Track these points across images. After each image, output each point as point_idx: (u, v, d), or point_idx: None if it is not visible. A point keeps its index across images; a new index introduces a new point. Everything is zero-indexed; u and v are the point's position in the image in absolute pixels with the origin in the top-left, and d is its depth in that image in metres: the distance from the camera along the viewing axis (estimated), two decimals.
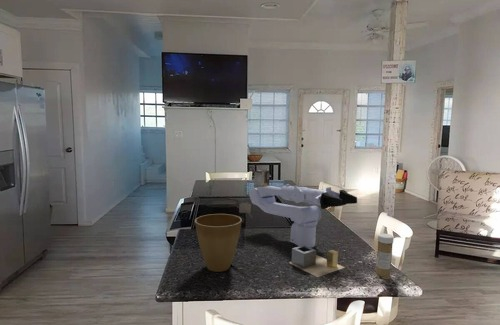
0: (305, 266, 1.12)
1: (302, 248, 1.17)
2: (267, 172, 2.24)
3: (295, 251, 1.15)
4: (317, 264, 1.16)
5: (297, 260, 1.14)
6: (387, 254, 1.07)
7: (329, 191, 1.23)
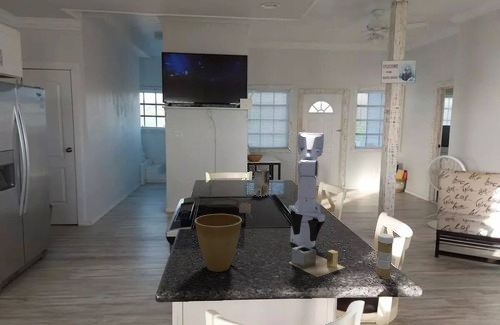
0: (305, 266, 1.12)
1: (302, 248, 1.17)
2: (267, 172, 2.24)
3: (295, 251, 1.15)
4: (317, 264, 1.16)
5: (297, 260, 1.14)
6: (387, 254, 1.07)
7: None
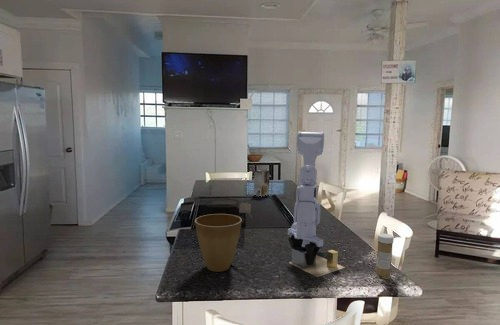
0: (305, 266, 1.12)
1: (302, 248, 1.17)
2: (267, 172, 2.24)
3: (295, 251, 1.15)
4: (317, 264, 1.16)
5: (297, 260, 1.14)
6: (387, 254, 1.07)
7: None
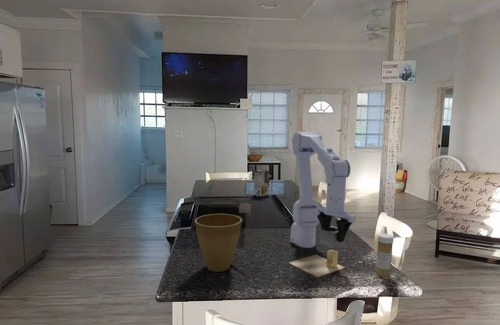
0: (334, 246, 1.10)
1: (330, 229, 1.15)
2: (267, 172, 2.24)
3: (324, 231, 1.12)
4: (317, 264, 1.16)
5: (326, 240, 1.12)
6: (387, 254, 1.07)
7: None
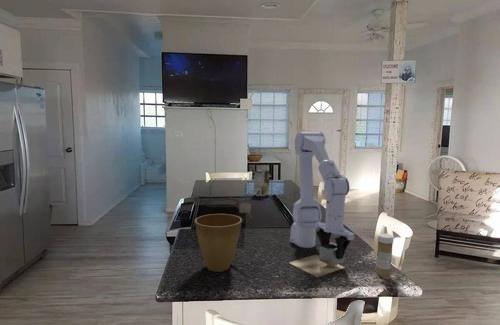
0: (334, 263, 1.11)
1: (330, 245, 1.15)
2: (267, 172, 2.24)
3: (323, 248, 1.13)
4: (317, 264, 1.16)
5: (325, 257, 1.12)
6: (387, 254, 1.07)
7: None
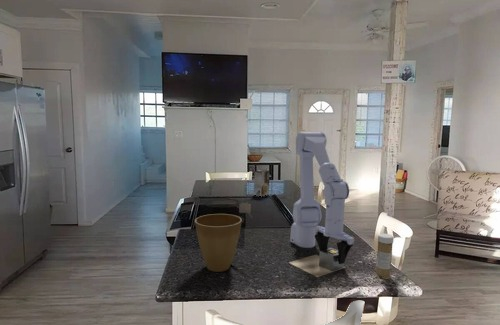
0: (334, 269, 1.11)
1: (329, 250, 1.16)
2: (267, 172, 2.24)
3: (323, 254, 1.13)
4: (317, 264, 1.16)
5: (325, 263, 1.12)
6: (387, 254, 1.07)
7: None
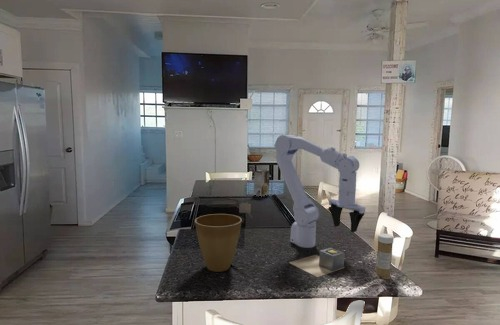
0: (334, 269, 1.11)
1: (329, 250, 1.16)
2: (267, 172, 2.24)
3: (323, 254, 1.13)
4: (317, 264, 1.16)
5: (325, 263, 1.12)
6: (387, 254, 1.07)
7: None
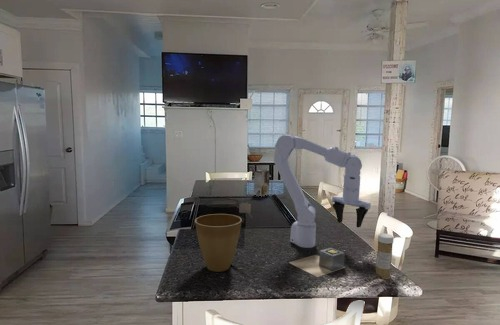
0: (334, 269, 1.11)
1: (329, 250, 1.16)
2: (267, 172, 2.24)
3: (323, 254, 1.13)
4: (317, 264, 1.16)
5: (325, 263, 1.12)
6: (387, 254, 1.07)
7: None
